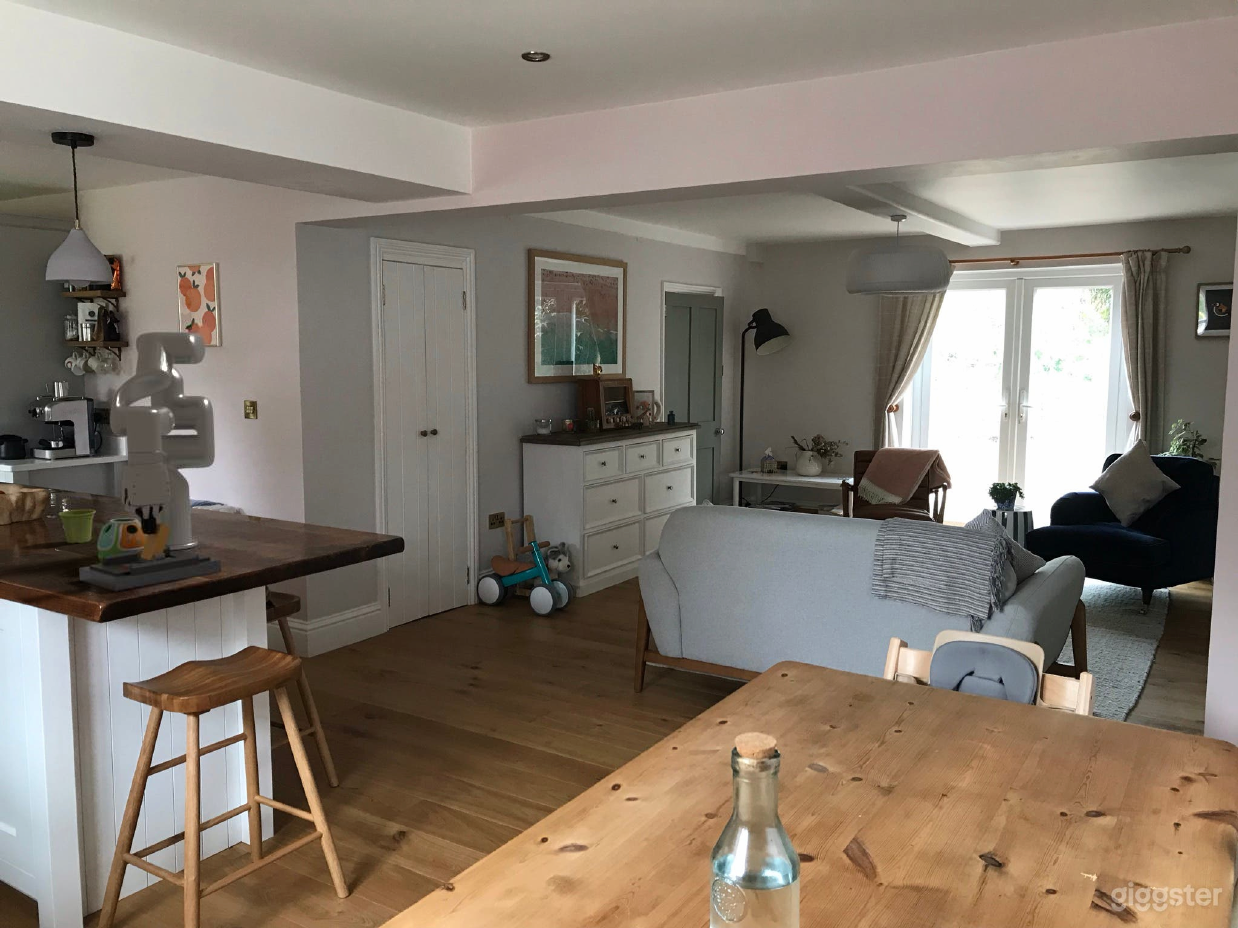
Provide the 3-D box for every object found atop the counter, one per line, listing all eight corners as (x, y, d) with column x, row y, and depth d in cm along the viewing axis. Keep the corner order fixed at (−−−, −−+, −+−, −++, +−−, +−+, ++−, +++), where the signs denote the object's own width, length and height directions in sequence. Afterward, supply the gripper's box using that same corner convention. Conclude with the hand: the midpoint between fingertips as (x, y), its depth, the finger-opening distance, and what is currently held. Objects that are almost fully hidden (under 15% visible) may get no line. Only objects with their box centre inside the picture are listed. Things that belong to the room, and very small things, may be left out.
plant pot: (104, 540, 287) (102, 510, 286) (74, 545, 279) (73, 515, 278) (82, 537, 291) (81, 508, 290) (53, 543, 283) (51, 513, 282)
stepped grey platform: (94, 564, 240) (94, 557, 240) (166, 552, 254) (166, 546, 254) (134, 575, 228) (133, 568, 228) (207, 562, 242) (206, 555, 242)
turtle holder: (130, 555, 266) (128, 512, 265) (161, 564, 254) (159, 519, 253) (82, 563, 256) (79, 517, 255) (112, 572, 245) (109, 525, 244)
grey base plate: (79, 580, 237) (78, 555, 236) (183, 562, 257) (182, 539, 257) (115, 591, 226) (114, 565, 225) (220, 571, 246) (219, 547, 246)
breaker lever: (139, 558, 242) (150, 521, 243) (148, 559, 244) (159, 523, 245) (151, 561, 238) (162, 524, 240) (160, 563, 240) (171, 526, 242)
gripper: (167, 456, 246) (170, 528, 248) (106, 460, 235) (110, 536, 236) (183, 457, 242) (186, 531, 244) (121, 462, 230) (126, 539, 232)
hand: (149, 533), depth 240 cm, fingers closed
